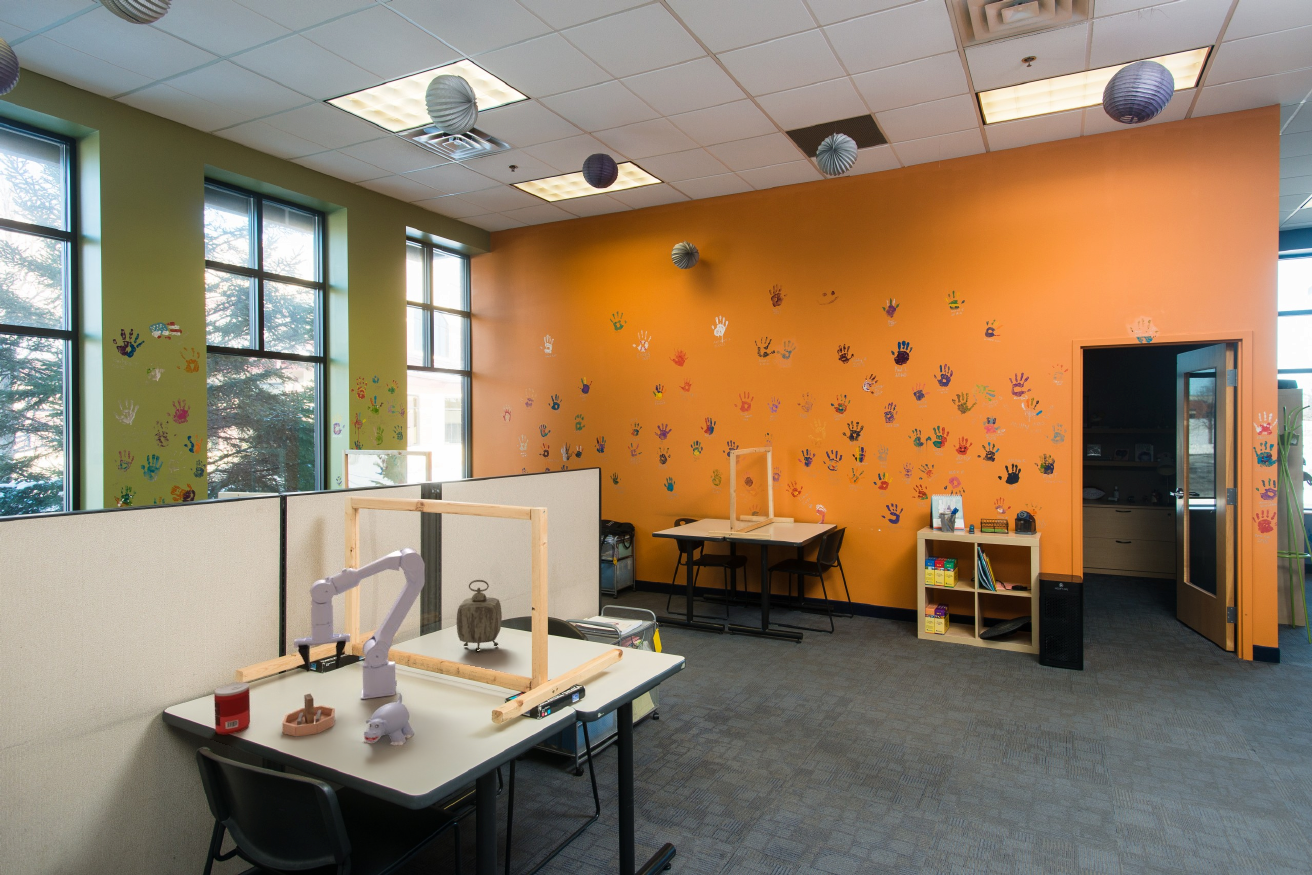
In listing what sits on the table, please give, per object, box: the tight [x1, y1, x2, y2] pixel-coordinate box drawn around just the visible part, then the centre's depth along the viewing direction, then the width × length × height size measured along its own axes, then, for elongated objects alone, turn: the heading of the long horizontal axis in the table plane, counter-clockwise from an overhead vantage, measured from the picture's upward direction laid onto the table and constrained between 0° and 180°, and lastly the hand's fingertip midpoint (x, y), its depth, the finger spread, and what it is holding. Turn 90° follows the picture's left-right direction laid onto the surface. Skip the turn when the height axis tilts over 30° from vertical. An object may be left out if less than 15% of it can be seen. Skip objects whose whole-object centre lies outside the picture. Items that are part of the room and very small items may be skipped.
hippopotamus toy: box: [363, 692, 415, 747], centre depth 177 cm, size 11×15×10 cm
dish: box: [281, 705, 336, 737], centre depth 186 cm, size 12×12×3 cm
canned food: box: [213, 682, 251, 735], centre depth 185 cm, size 8×8×11 cm
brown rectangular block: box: [303, 693, 315, 724], centre depth 186 cm, size 2×4×7 cm, turn 37°
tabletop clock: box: [456, 579, 503, 650], centre depth 245 cm, size 14×9×25 cm, turn 93°
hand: (323, 668), depth 201 cm, fingers open, 7 cm apart
